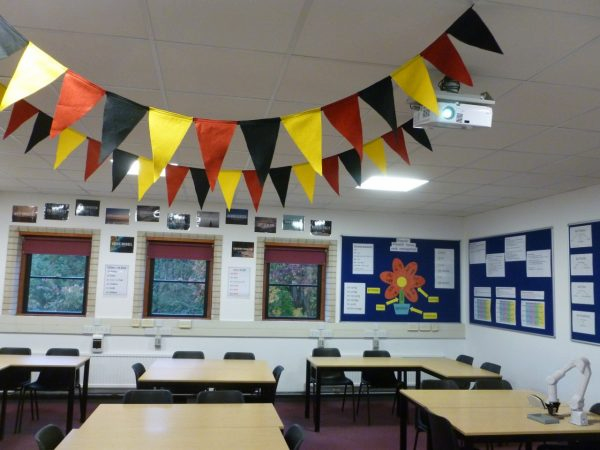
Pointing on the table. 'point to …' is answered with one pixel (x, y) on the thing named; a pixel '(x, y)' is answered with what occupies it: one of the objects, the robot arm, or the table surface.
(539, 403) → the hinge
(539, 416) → the tray
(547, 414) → the holder
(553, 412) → the pin
